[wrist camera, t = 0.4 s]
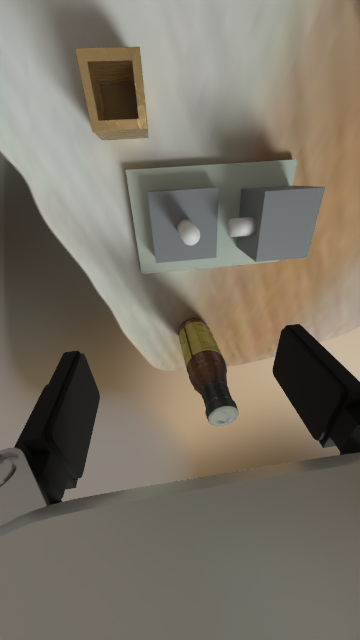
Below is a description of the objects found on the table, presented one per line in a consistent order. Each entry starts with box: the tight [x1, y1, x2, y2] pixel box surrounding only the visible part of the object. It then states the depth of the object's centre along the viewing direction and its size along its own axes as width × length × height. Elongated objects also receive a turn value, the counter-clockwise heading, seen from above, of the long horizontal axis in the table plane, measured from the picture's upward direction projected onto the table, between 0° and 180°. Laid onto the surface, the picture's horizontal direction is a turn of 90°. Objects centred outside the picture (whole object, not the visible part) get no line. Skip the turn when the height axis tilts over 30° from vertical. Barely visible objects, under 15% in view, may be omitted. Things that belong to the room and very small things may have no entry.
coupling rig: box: [126, 159, 325, 274], centre depth 30 cm, size 14×23×9 cm, turn 93°
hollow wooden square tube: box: [75, 47, 148, 140], centre depth 24 cm, size 6×6×6 cm
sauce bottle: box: [179, 319, 238, 426], centre depth 36 cm, size 6×6×20 cm
